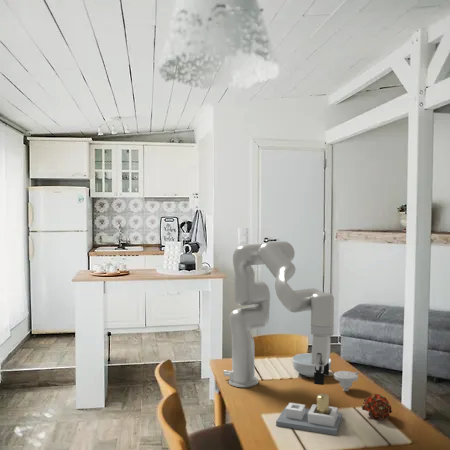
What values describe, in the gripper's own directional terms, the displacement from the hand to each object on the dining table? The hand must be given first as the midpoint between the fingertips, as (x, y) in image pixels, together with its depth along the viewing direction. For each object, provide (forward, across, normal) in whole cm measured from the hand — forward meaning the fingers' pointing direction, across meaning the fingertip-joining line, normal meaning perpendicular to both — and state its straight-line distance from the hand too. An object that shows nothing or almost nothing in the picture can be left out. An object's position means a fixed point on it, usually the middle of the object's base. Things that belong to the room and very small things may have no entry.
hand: (321, 379), depth 162 cm
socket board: (+15, 0, -4) cm, 16 cm away
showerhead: (+16, -34, +4) cm, 37 cm away
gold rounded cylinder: (+14, 0, +1) cm, 14 cm away
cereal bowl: (+16, -47, -13) cm, 52 cm away
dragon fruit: (+15, -12, +17) cm, 26 cm away
